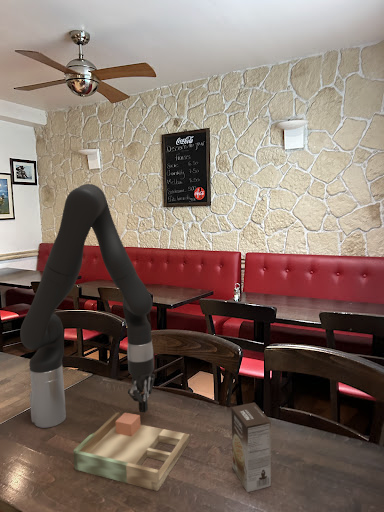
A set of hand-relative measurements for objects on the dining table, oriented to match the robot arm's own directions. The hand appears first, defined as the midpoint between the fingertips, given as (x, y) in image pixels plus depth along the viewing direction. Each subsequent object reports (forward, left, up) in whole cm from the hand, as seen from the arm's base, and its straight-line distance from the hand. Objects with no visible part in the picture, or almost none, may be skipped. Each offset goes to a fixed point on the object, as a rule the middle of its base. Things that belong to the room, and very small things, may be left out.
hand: (143, 411), depth 116 cm
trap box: (+5, -15, -3) cm, 16 cm away
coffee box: (+36, -13, -4) cm, 38 cm away
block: (-1, -8, -1) cm, 8 cm away
